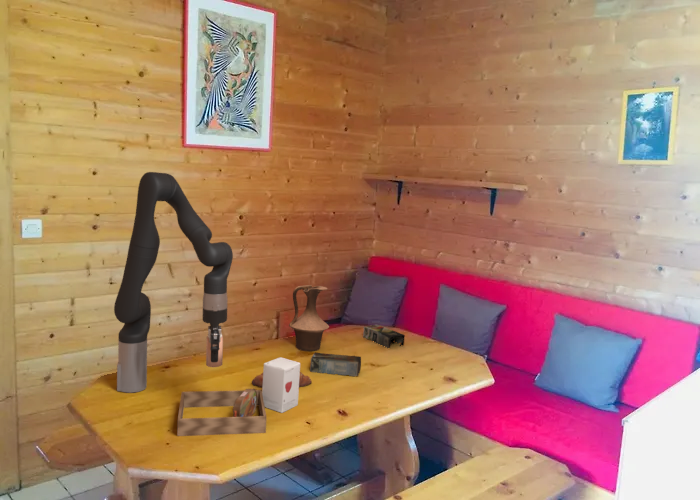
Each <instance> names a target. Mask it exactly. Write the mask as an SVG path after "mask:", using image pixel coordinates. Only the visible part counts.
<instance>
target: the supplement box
mask: <svg viewBox="0 0 700 500" xmlns="http://www.w3.org/2000/svg"><path fill="white" fill-rule="evenodd" d="M300 372H301V362H298V361H295V360H291V359H288V358H284V357H281V356H280V357H277V358H274V359H272V360H269V361H266V362H264V363H263V372H262V373H263V387H262V389H261V390H262V395H263V401H264V406H265V409H266V408H267V409H269V410H271V411H275V412H278V413H281V414H282V413H283V414H284V413H285V412H287V411H288V410H292V409H293V408H295V407H297V406H298V405H299V390H300V389H299V388H300V387H299V376H300Z"/></svg>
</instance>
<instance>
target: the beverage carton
mask: <svg viewBox="0 0 700 500" xmlns="http://www.w3.org/2000/svg"><path fill="white" fill-rule="evenodd" d="M361 368H362V356H357V355H347V354H345V355H344V354H333V353H322V352H316V351H314V353H313V354H312V356H311V357H310V371H309V372H311V373H316V372H317V373H319V374H324V373H327V375H335V374H338V375H337V376H346V375H349V377H355V376H359V375H360V372H361Z"/></svg>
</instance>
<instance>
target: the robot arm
mask: <svg viewBox="0 0 700 500" xmlns="http://www.w3.org/2000/svg"><path fill="white" fill-rule="evenodd" d="M137 188H138V189H137V198H136V207H135V216H134V220H133V221H134V222H133V228H132V232H131V236H130V240H129V246H128V249H127V254H126V255H127V257H126V261H125V266H124V269H123V270H124V271H123V275H122V279H121V283H120V286H119V289H118V292H117V295H116V299H115V302H114V307H113V310H114V311H113V312H114V316H115V317H116V319H117V320H118V321H119V322H120V323H121V324H123V325H122V328H121V329H120V330H119V332H118V335H117V336H118V339H117V341H118V347H117V348H118V351H117V352H118V353H117V355H118V362H117V364H116V391H117V392H123V393H138V392H142V391H143V390H146V388H147V385H148V384H147V383H148V380H147V378H148V377H147V375H148V369H147V368H148V334H149V332H150V328H151V316H152V315H151V314H152V310H151V309H152V305H151V301H150V299H149V297H148V295H146V294H145V293H144V292H142V289H143V286H144V284H145V281H146V280H147V278H148V276H149V275H150V273H151V271H152V269H153V268H154V266H155V264H156V262H157V257H158V255H159V254H158V253H159V249H160V244H161V243H160V242H161V241H160V240H161V239H160V234H159V231H158V229H157V225H156V223H155V222H156V221H155V213H156V212H155V211H156V205H157V203H158V202H166V203H167V204H168V205H170V206H171V208H172V209H173V210H174V212H175V213H176V218H177V223H178V226H179V228H180V231H181V232H182V233H183V235H185V237H186V238H187V239H188V241H189V242H190V243H191V244H192V248H193V250H194V251H195V254H196V257H197V259H198V260H199V262H200V263H201V264H202V265H203V266H206V267H208V268H209V267H210V268H212V270H210V272H208V273H206V274H205V275H204V276H203V296H202V322H203V323H205V324H209V325H208V326H207V331H208V333H207V334H209V343H211V348H210V350H211V362H218V350H219V349H220V348H219V343H220V335H221V334H222V325H220V324H223V323H226V322H227V321H228V293H227V292H228V278H229V274H230V271H231V266H232V264H233V263H232V262H233V259H234V255H233V250H232V247H231V246H230V245H231V244H229V243H228V242H225V241H219V242H213V243H212V242H210V241H211V239H212V238H213V232H212V231H211V229H210V227H208V225H207V224H206V223H205V222H204V221H203V219H202V218H201V217H200V216H199V214H198V213H197V212H196V211H195V209H194V208H193V206H192V204H191V202H190V200H189V199H188V198H187V196H186V194H185V192H184V191H183V189H182V187H181V186H180V184H179V182H178V180H177V179H176V178H175V177H174V176H173V175H172V174H170V173H167V172H156V171H147V172H146V173H144V174H143V175H142V176H141V178H140V180H139V183H138V187H137ZM213 344H217V346H213Z"/></svg>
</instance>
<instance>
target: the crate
mask: <svg viewBox="0 0 700 500" xmlns="http://www.w3.org/2000/svg"><path fill="white" fill-rule="evenodd" d="M245 390H246V389H245ZM245 390H212V391H211V390H210V391H209V390H207V391H203V390H202V391H201V390H200V391H181V395H180V401H179V408H178V409H179V410H178V416H177V434H176V435H177V436H176V437H186V436H216V435H219V436H220V435H240V434H241V435H242V434H245V435H246V434H266V433H267V413H266V407H265V406H264V401H263V395H262V389H255V390H256V392H257V406H258V409H259V416H258V415H256V416H255V415H252V416H250V417H233V416H223V417H189V418H188V417H187V418H185V417H184V411H185V409H184V408H209V407H210V408H213V407H214V408H215V407H233V406H234V403H235V401H236V399H237V398H238V397H239V396H240V395H241V394H242V393H243V392H244V391H245ZM183 417H184V418H183Z"/></svg>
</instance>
